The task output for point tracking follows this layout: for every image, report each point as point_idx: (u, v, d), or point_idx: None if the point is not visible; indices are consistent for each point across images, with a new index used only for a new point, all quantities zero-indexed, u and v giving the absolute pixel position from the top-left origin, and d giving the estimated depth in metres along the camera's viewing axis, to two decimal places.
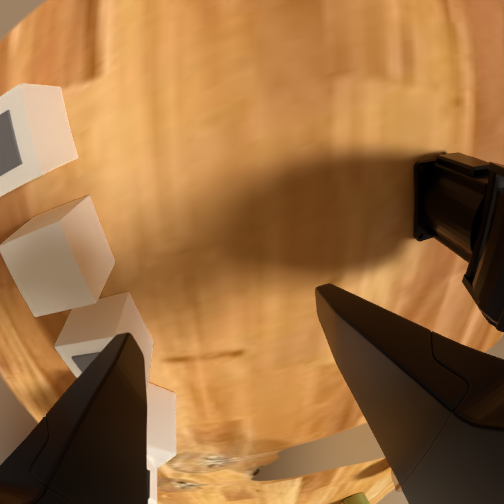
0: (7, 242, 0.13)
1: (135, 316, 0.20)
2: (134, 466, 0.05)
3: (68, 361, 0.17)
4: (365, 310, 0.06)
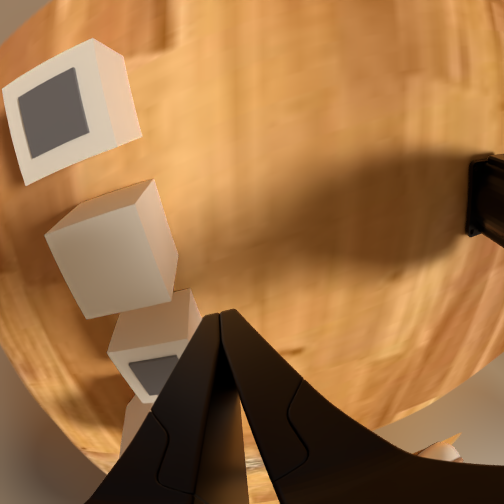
0: (58, 229, 0.12)
1: (197, 315, 0.20)
2: (239, 455, 0.05)
3: (122, 368, 0.16)
4: (248, 344, 0.06)
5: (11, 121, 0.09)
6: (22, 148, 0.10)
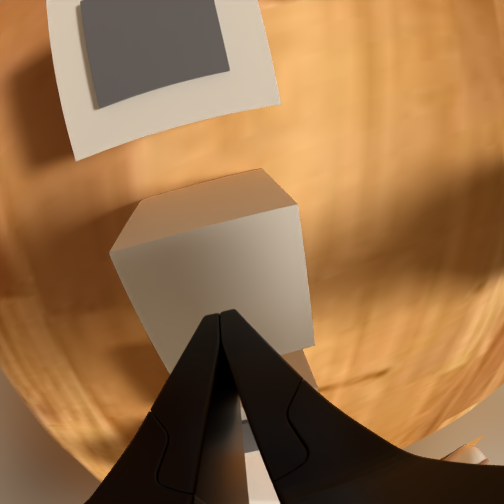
0: (138, 244, 0.07)
1: None
2: (239, 455, 0.05)
3: None
4: (248, 344, 0.06)
5: (58, 43, 0.05)
6: (76, 90, 0.05)
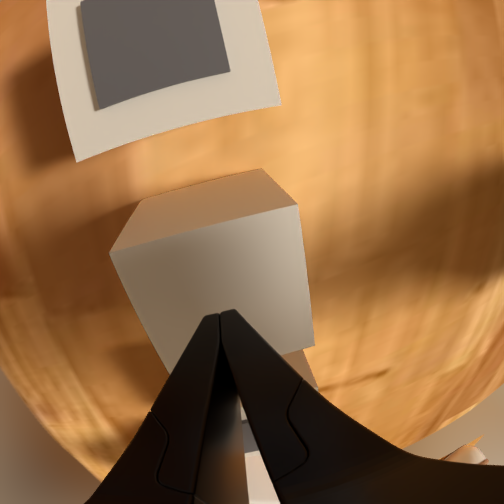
0: (138, 244, 0.07)
1: None
2: (239, 455, 0.05)
3: None
4: (248, 344, 0.06)
5: (58, 44, 0.05)
6: (76, 91, 0.05)
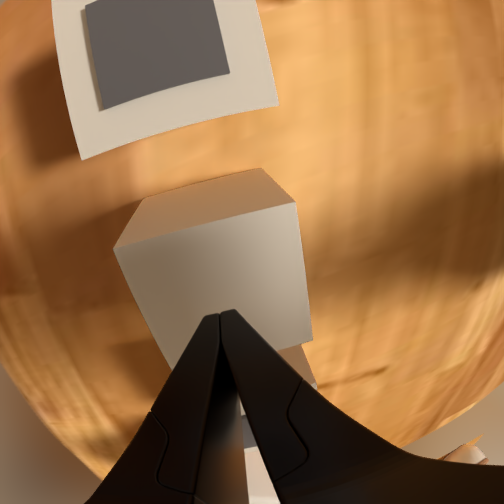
0: (141, 240, 0.08)
1: None
2: (239, 455, 0.05)
3: None
4: (248, 344, 0.06)
5: (63, 46, 0.05)
6: (81, 91, 0.06)
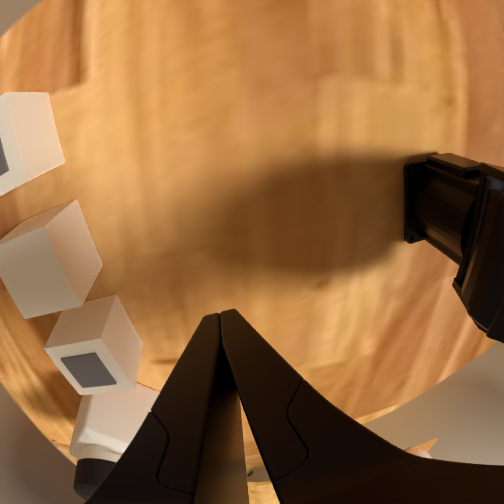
0: None
1: (123, 318, 0.20)
2: (239, 455, 0.05)
3: (57, 362, 0.17)
4: (248, 344, 0.06)
5: None
6: None
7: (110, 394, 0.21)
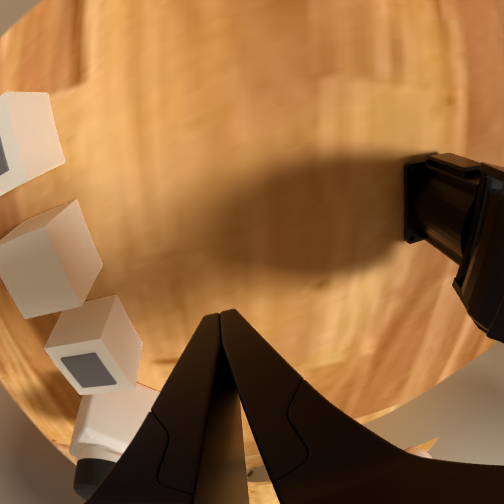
0: None
1: (123, 318, 0.20)
2: (239, 455, 0.05)
3: (57, 362, 0.17)
4: (248, 344, 0.06)
5: None
6: None
7: (110, 394, 0.21)
